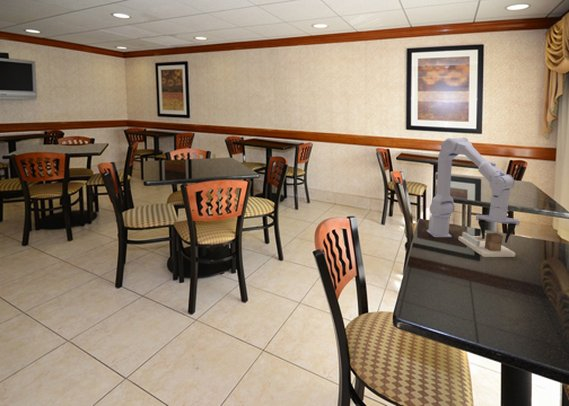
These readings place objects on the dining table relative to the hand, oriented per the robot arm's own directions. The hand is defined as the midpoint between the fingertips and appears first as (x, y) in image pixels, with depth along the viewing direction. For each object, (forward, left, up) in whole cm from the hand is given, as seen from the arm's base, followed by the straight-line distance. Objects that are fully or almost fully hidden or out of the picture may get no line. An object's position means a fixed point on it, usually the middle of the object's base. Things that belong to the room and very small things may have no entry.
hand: (494, 240), depth 138 cm
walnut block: (0, 0, -4) cm, 4 cm away
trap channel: (-7, 0, -5) cm, 8 cm away
